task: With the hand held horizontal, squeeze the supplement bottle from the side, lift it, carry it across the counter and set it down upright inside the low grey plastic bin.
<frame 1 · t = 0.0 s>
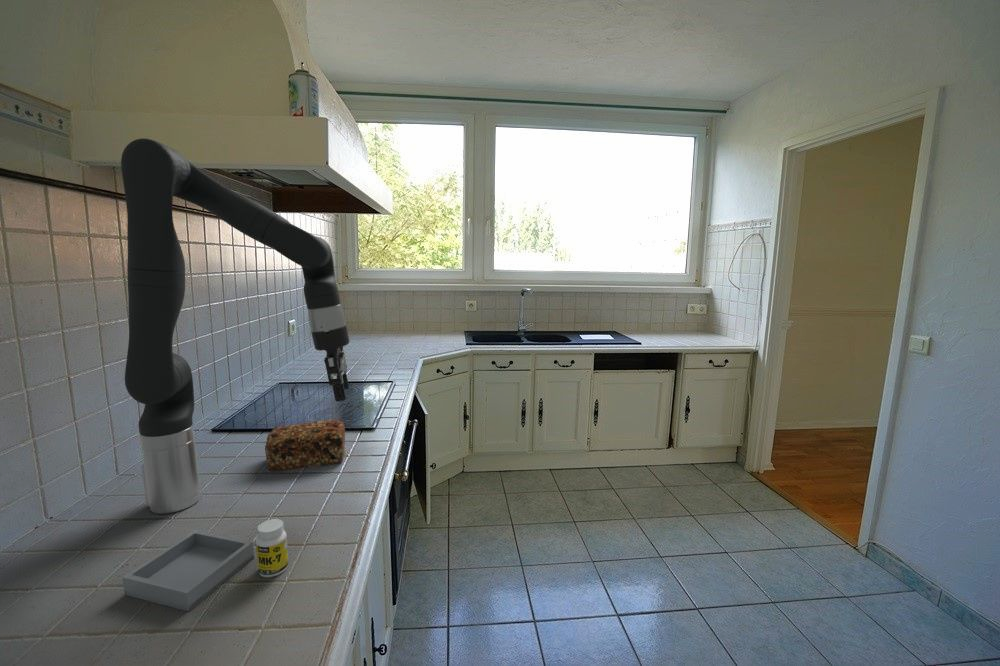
hand: (342, 394, 104), 22 cm above the countertop, tool pointing down, fingers open, 8 cm apart
supplement bottle: (273, 569, 79), on the countertop
bin: (193, 575, 77), on the countertop
bread: (308, 460, 121), on the countertop
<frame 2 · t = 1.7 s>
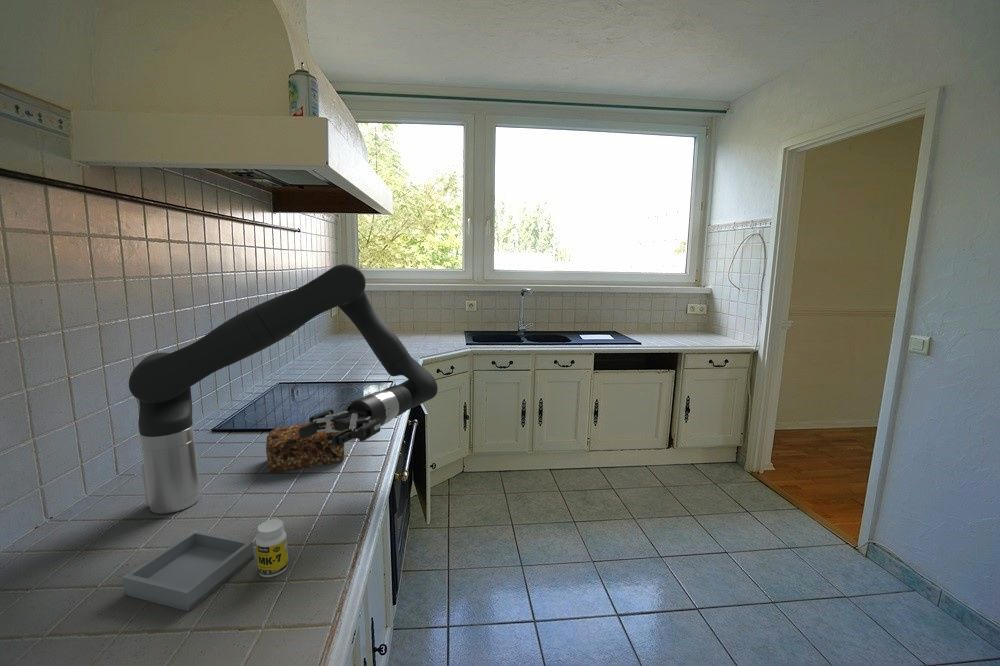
hand: (316, 437, 86), 20 cm above the countertop, tool horizontal, fingers open, 8 cm apart
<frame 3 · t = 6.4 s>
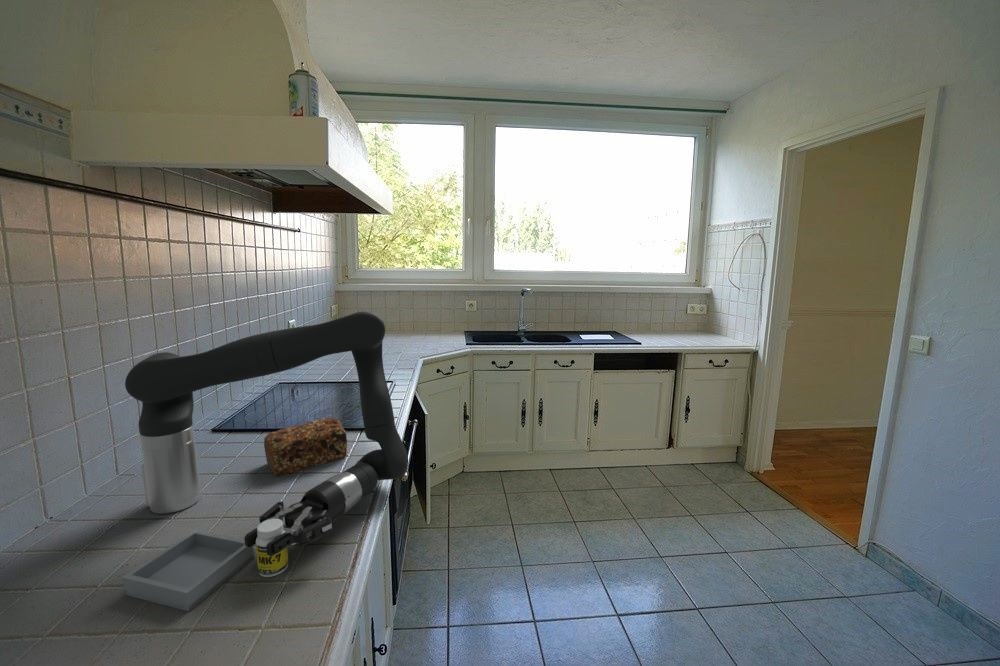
hand: (257, 546, 76), 6 cm above the countertop, tool horizontal, fingers closed on supplement bottle, 4 cm apart
supplement bottle: (273, 569, 79), on the countertop, touching gripper
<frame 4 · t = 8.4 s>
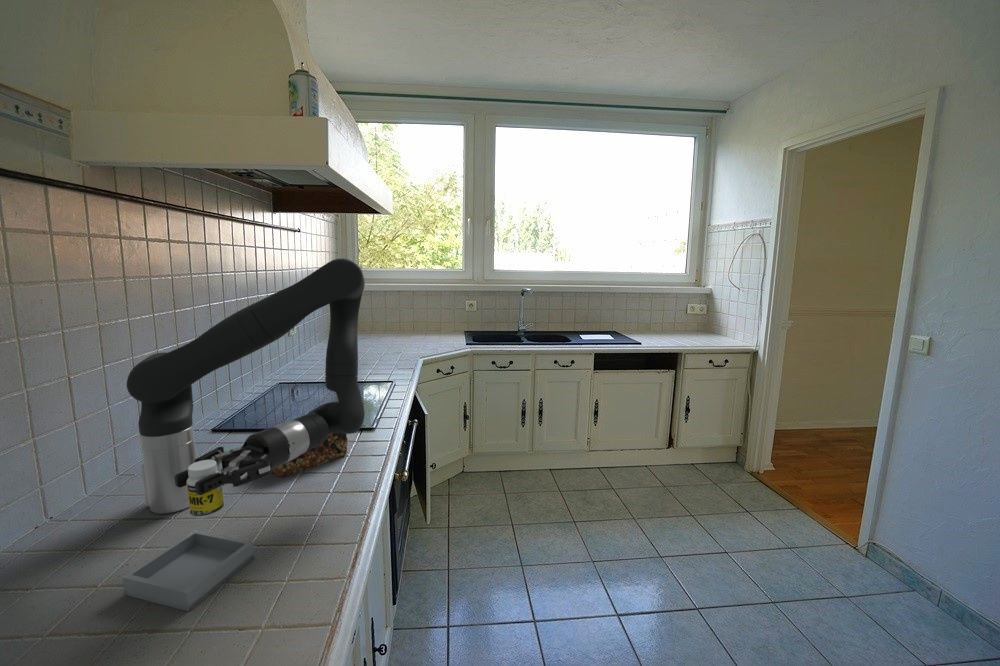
hand: (187, 485, 72), 18 cm above the countertop, tool horizontal, fingers closed on supplement bottle, 4 cm apart
supplement bottle: (207, 512, 76), point 11 cm above the countertop, touching gripper
when the fingers open (8 cm above the countertop, at t = 10.9 s): supplement bottle drops 1 cm, resting on bin.
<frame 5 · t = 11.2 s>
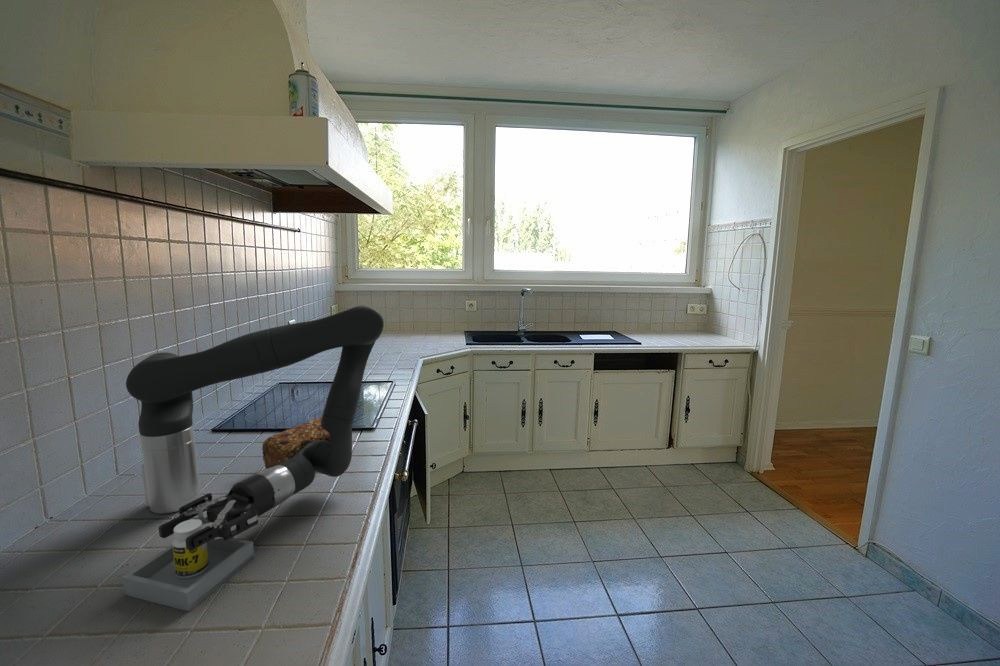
hand: (173, 538, 74), 8 cm above the countertop, tool horizontal, fingers open, 6 cm apart
supplement bottle: (193, 571, 77), point 1 cm above the countertop, touching bin
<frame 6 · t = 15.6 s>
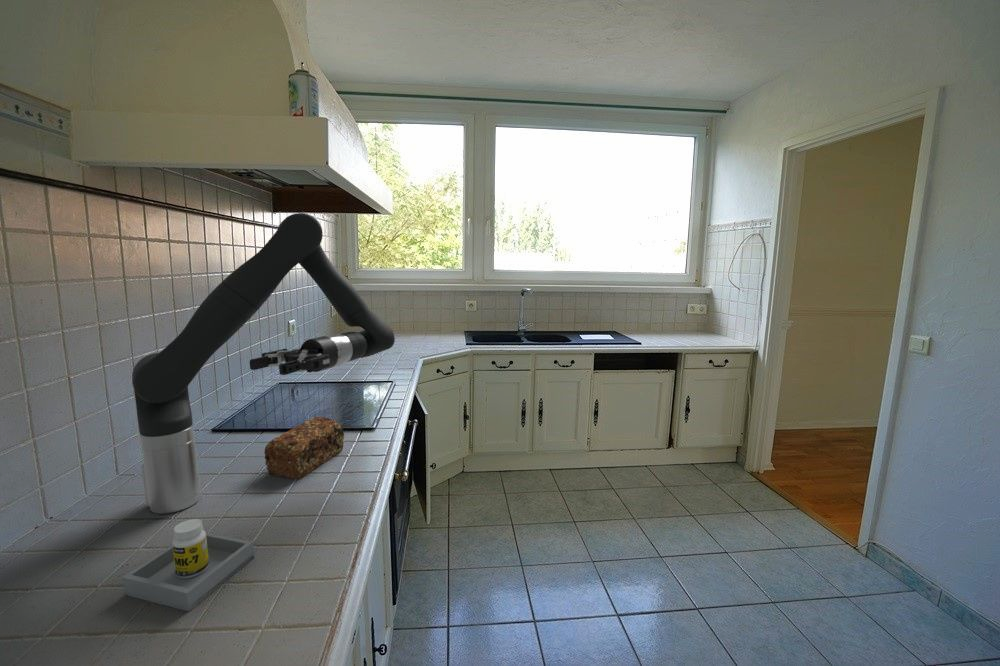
hand: (265, 367, 90), 32 cm above the countertop, tool horizontal, fingers open, 8 cm apart
at the end: supplement bottle inside the target area on the bin (0.3 cm from its centre), point 0.6 cm above the bin's base; supplement bottle tilted 0°; the gripper is holding nothing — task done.
